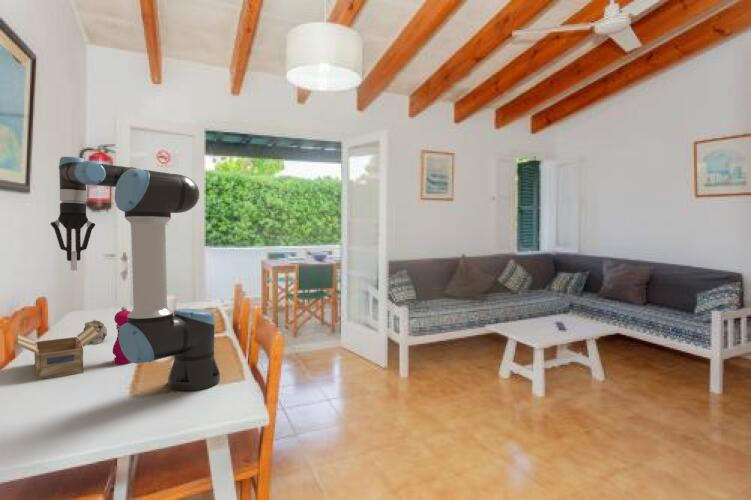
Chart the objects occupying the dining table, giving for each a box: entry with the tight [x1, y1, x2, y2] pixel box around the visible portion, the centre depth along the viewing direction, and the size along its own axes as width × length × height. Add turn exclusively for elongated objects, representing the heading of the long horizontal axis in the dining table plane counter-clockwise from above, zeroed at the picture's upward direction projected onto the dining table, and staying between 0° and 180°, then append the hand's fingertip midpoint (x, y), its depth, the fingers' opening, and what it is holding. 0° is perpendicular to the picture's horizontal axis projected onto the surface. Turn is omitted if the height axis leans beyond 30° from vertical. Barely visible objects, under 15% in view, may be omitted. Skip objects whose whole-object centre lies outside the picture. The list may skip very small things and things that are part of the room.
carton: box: [34, 336, 84, 381], centre depth 145 cm, size 19×12×8 cm, turn 40°
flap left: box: [16, 332, 37, 354], centre depth 139 cm, size 16×6×1 cm
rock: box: [83, 319, 108, 345], centre depth 179 cm, size 12×7×10 cm, turn 48°
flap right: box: [76, 326, 99, 348], centre depth 150 cm, size 16×6×1 cm
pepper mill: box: [112, 305, 133, 366], centre depth 153 cm, size 7×7×20 cm
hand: (73, 270), depth 151 cm, fingers closed
